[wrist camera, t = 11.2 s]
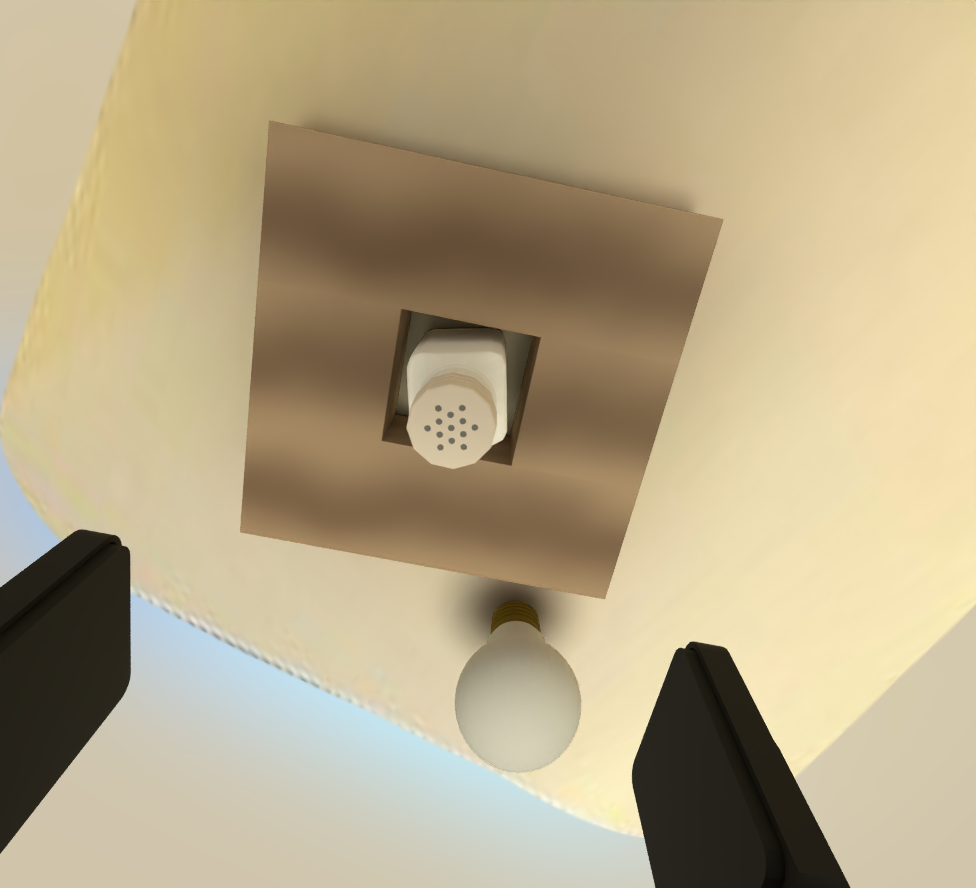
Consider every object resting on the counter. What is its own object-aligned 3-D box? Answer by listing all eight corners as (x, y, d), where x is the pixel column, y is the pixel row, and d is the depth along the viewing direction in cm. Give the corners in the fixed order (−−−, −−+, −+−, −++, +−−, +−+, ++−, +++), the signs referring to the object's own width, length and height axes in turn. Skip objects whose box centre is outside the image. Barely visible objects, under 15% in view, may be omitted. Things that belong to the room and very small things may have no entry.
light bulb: (446, 628, 36) (426, 772, 27) (494, 551, 35) (491, 675, 25) (534, 669, 37) (544, 822, 28) (585, 595, 35) (615, 732, 26)
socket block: (300, 133, 28) (269, 120, 24) (694, 218, 28) (723, 219, 25) (269, 496, 34) (240, 532, 30) (593, 557, 35) (604, 599, 31)
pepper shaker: (505, 325, 30) (506, 371, 21) (506, 404, 32) (508, 479, 23) (422, 327, 30) (390, 373, 22) (427, 406, 32) (399, 480, 23)
